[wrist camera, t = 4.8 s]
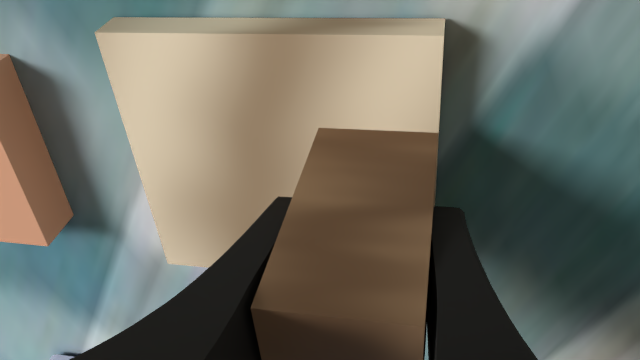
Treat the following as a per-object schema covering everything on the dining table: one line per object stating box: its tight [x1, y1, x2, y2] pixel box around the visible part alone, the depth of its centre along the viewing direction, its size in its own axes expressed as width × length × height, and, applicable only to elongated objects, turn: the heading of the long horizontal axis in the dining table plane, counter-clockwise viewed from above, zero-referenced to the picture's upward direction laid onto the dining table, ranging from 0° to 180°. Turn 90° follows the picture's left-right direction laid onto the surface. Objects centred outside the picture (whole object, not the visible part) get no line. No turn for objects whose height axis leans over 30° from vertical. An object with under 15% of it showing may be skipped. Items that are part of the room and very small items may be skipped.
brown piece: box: [95, 17, 445, 360], centre depth 14 cm, size 8×8×7 cm
